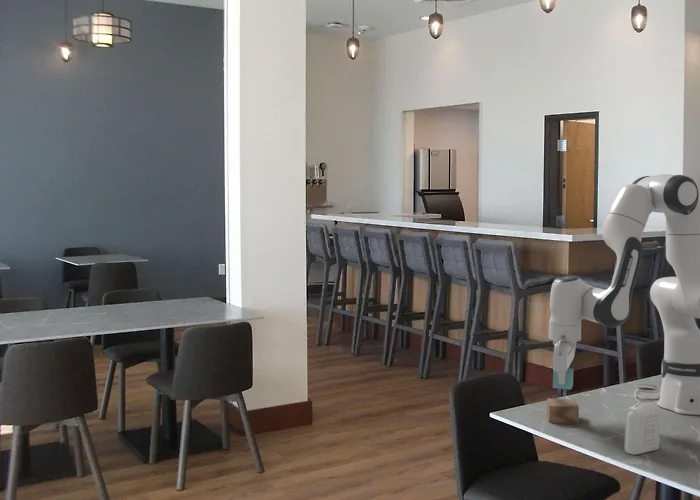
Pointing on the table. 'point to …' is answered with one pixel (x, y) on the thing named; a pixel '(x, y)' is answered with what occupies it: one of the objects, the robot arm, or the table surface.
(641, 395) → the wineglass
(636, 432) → the white plastic bottle
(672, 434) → the table surface
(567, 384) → the teal cube
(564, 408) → the walnut block
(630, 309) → the robot arm
